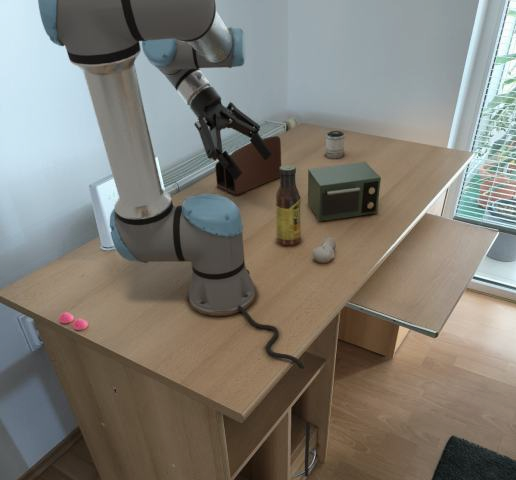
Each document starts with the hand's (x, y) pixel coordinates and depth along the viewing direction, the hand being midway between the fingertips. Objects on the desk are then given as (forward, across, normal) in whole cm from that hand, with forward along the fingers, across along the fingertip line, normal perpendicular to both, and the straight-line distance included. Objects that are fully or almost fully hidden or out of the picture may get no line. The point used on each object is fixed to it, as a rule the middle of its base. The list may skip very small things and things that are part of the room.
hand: (254, 166), depth 128 cm
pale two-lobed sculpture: (+29, -3, -3) cm, 29 cm away
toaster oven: (+24, +22, +2) cm, 32 cm away
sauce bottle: (+20, 0, +6) cm, 21 cm away
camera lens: (+8, +59, +18) cm, 63 cm away
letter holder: (-2, +27, +28) cm, 39 cm away
